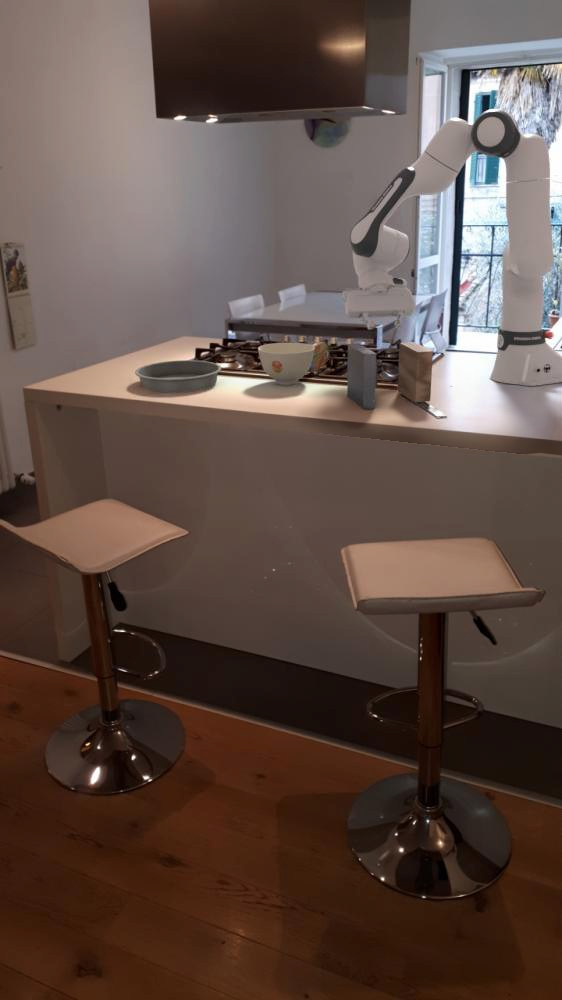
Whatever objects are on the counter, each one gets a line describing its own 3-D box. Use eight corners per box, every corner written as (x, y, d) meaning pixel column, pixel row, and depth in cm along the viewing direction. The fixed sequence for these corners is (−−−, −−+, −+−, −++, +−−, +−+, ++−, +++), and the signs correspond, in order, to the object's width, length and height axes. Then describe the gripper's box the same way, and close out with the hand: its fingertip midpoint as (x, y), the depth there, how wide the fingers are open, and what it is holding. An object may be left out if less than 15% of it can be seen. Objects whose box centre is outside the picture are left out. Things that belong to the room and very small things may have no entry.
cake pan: (171, 371, 248) (170, 357, 247) (238, 379, 237) (237, 364, 235) (118, 388, 229) (116, 372, 227) (187, 398, 217) (186, 382, 215)
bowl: (326, 381, 232) (326, 346, 228) (288, 392, 221) (288, 355, 217) (285, 373, 242) (284, 340, 238) (247, 383, 231) (246, 348, 227)
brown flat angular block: (411, 389, 218) (413, 342, 213) (430, 401, 206) (432, 351, 202) (397, 390, 217) (399, 342, 213) (415, 402, 205) (417, 352, 201)
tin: (311, 377, 238) (311, 348, 234) (301, 376, 239) (301, 347, 236) (330, 366, 250) (331, 339, 247) (321, 366, 251) (321, 339, 248)
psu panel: (406, 391, 220) (409, 339, 214) (446, 417, 195) (450, 359, 190) (346, 395, 216) (346, 343, 211) (378, 422, 192) (380, 364, 187)
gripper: (343, 281, 228) (352, 322, 223) (411, 279, 232) (422, 319, 227) (338, 296, 234) (347, 335, 229) (405, 293, 238) (415, 332, 233)
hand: (385, 327), depth 228 cm, fingers open, 7 cm apart
